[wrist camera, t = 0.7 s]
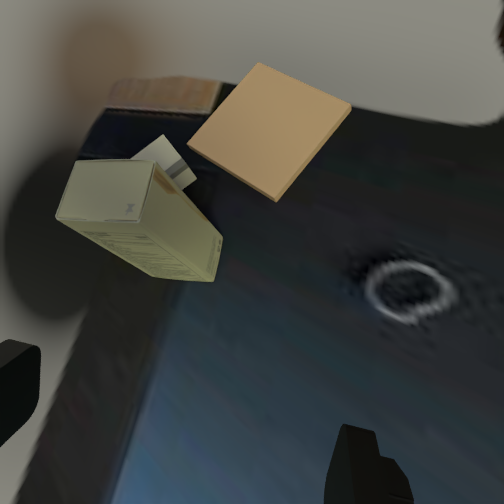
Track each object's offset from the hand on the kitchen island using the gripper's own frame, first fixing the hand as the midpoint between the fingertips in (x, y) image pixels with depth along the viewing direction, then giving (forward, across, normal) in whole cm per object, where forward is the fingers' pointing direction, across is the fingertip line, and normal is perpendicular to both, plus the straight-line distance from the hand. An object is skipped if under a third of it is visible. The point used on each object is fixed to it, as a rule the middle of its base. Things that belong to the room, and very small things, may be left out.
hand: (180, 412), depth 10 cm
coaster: (+31, +3, -8) cm, 32 cm away
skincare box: (+25, +7, +4) cm, 26 cm away
